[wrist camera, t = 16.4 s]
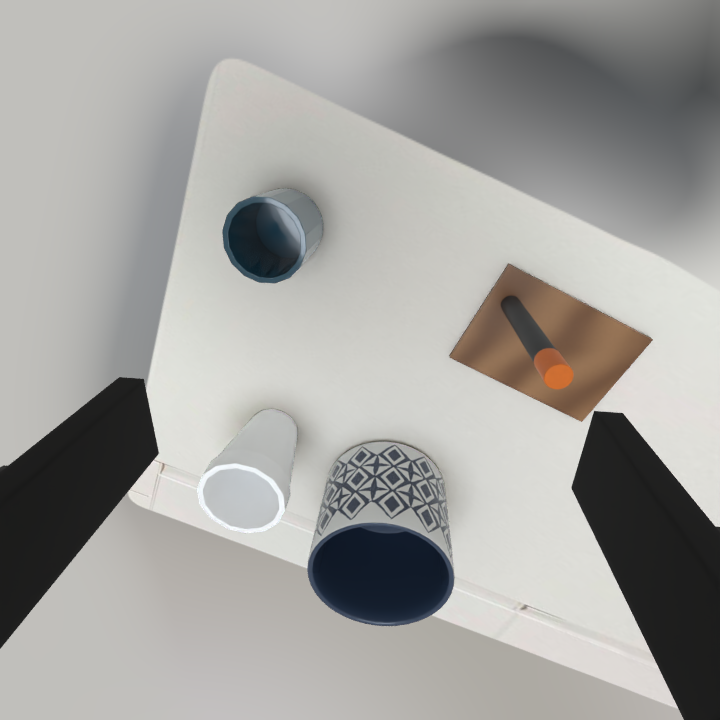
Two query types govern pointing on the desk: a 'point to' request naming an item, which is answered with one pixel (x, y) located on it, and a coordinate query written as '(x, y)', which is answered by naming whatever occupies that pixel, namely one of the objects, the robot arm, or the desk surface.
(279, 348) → the desk surface
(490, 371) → the brown wooden board
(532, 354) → the marker
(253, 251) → the pen cup
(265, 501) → the foam cup
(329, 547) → the planter
